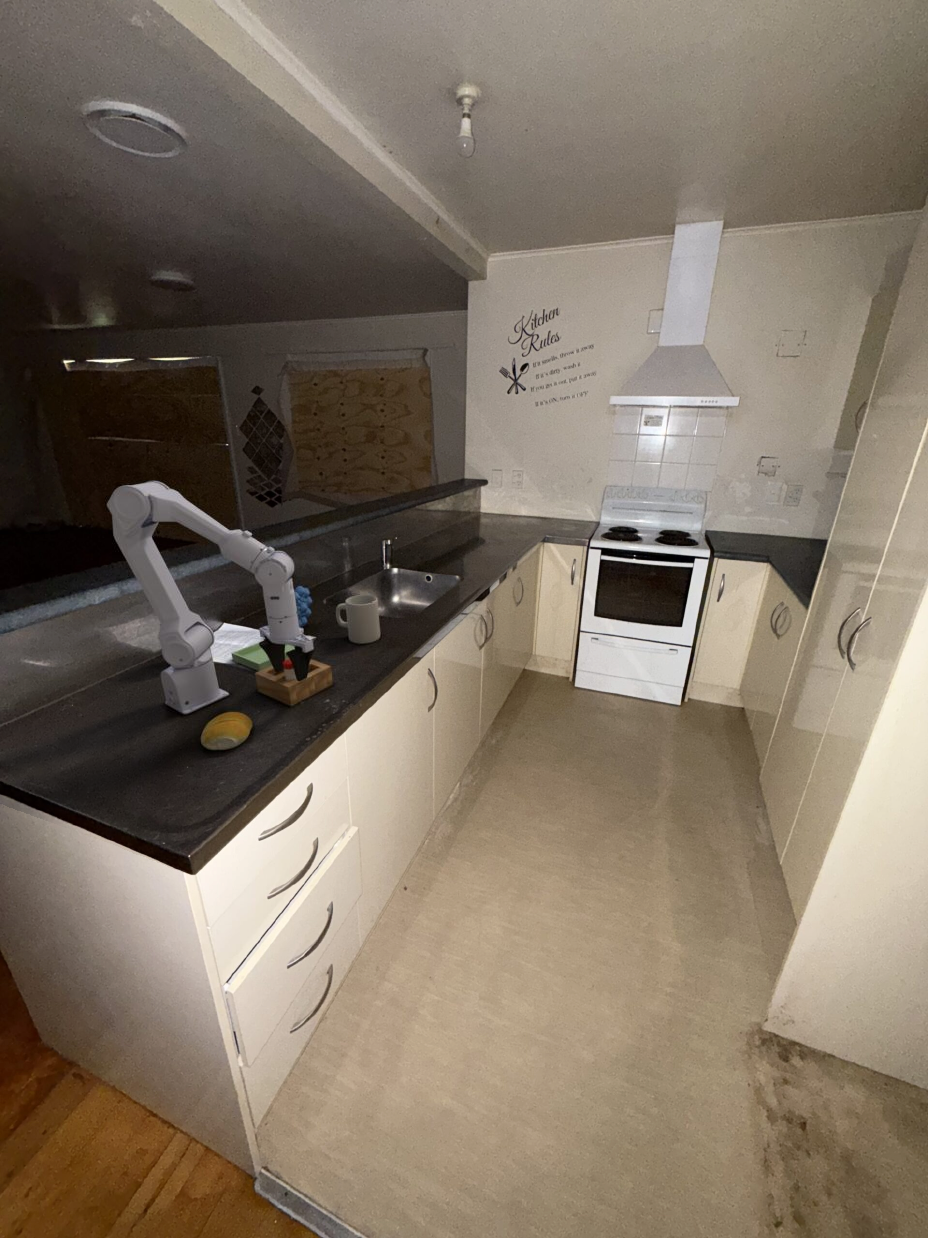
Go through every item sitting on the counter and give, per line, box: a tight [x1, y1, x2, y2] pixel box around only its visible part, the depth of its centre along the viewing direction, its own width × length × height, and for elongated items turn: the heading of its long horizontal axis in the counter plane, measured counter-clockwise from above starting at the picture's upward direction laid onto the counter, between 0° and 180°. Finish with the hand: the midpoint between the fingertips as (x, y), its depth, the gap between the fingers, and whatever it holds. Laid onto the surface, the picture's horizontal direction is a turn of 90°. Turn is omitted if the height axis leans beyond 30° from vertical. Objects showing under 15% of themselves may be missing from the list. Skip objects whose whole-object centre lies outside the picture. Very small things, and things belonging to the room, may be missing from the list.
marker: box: [283, 659, 296, 682], centre depth 102 cm, size 2×2×8 cm
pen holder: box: [254, 658, 334, 707], centre depth 106 cm, size 11×11×4 cm
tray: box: [231, 642, 295, 672], centre depth 122 cm, size 15×11×2 cm
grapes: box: [294, 585, 313, 628], centre depth 138 cm, size 12×7×12 cm, turn 168°
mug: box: [335, 594, 381, 645], centre depth 131 cm, size 12×8×11 cm
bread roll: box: [200, 711, 253, 751], centre depth 89 cm, size 8×9×4 cm
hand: (291, 674), depth 101 cm, fingers open, 7 cm apart
